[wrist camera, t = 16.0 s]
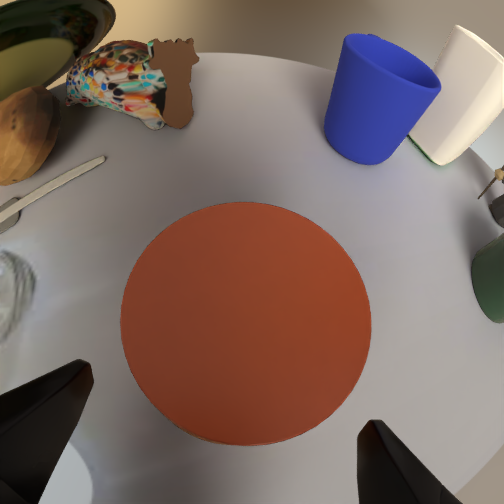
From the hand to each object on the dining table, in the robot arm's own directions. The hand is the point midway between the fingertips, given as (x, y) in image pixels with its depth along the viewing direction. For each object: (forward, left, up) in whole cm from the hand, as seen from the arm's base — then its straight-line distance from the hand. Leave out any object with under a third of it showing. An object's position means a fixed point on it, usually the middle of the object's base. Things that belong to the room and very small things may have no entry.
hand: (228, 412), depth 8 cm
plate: (+7, +29, -2) cm, 30 cm away
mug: (+25, 0, -8) cm, 27 cm away
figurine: (+18, +14, -3) cm, 23 cm away
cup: (+30, -9, -8) cm, 33 cm away
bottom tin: (+17, -19, -8) cm, 27 cm away
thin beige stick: (+2, +20, -8) cm, 22 cm away
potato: (+6, +25, -8) cm, 27 cm away
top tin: (+3, +1, -8) cm, 8 cm away
